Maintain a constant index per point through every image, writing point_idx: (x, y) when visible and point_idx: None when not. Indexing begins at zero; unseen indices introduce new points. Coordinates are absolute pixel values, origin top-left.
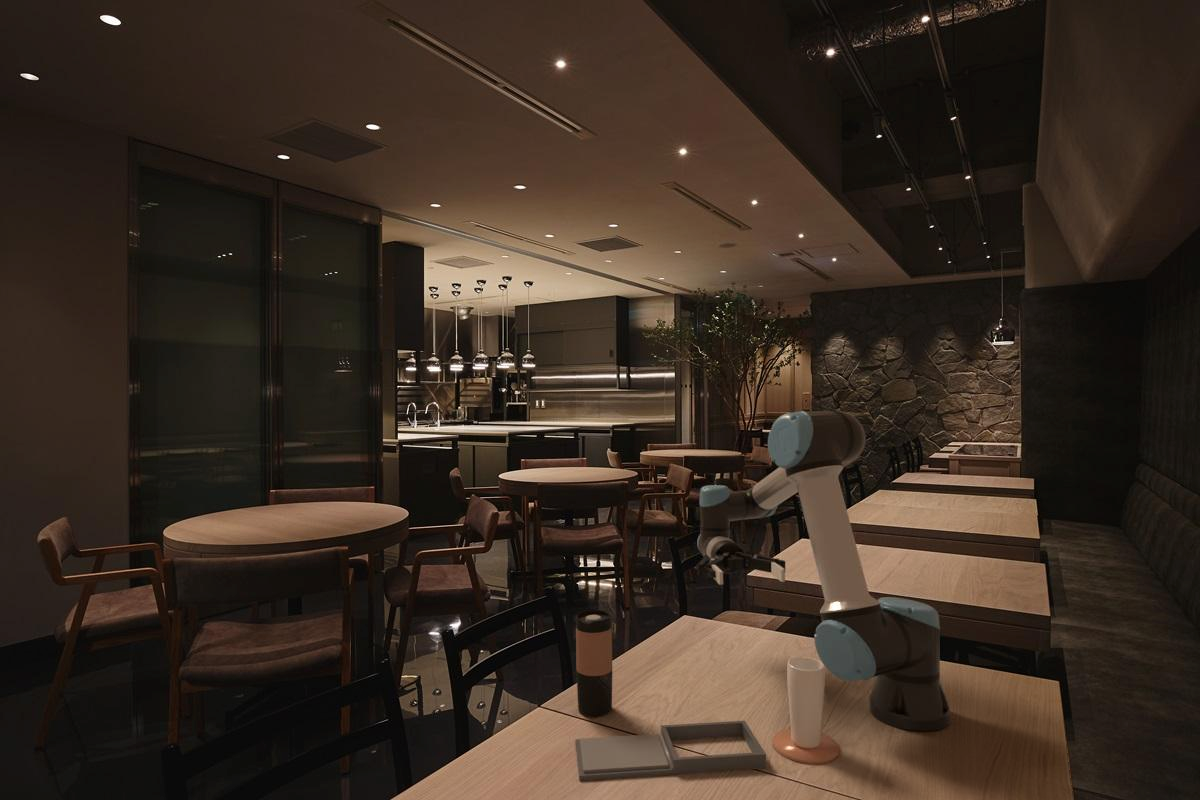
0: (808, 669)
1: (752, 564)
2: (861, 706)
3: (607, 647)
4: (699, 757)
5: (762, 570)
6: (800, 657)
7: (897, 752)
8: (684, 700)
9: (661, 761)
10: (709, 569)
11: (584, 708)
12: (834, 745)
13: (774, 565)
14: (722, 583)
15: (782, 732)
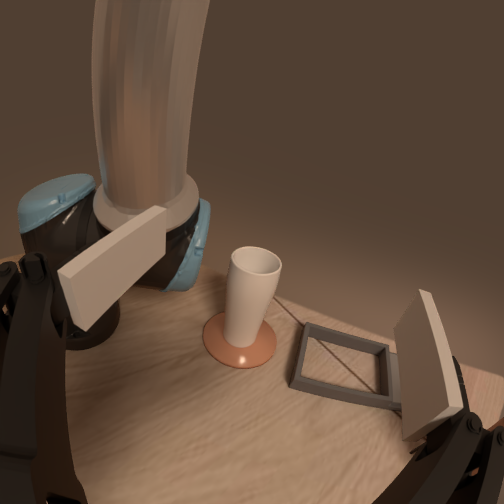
0: (235, 281)
1: (59, 453)
2: (96, 355)
3: (495, 425)
4: (367, 340)
5: (64, 390)
6: (248, 271)
7: (166, 293)
8: (327, 494)
9: (394, 359)
10: (460, 386)
11: None
12: (214, 320)
13: (107, 254)
14: (397, 325)
15: (248, 363)
